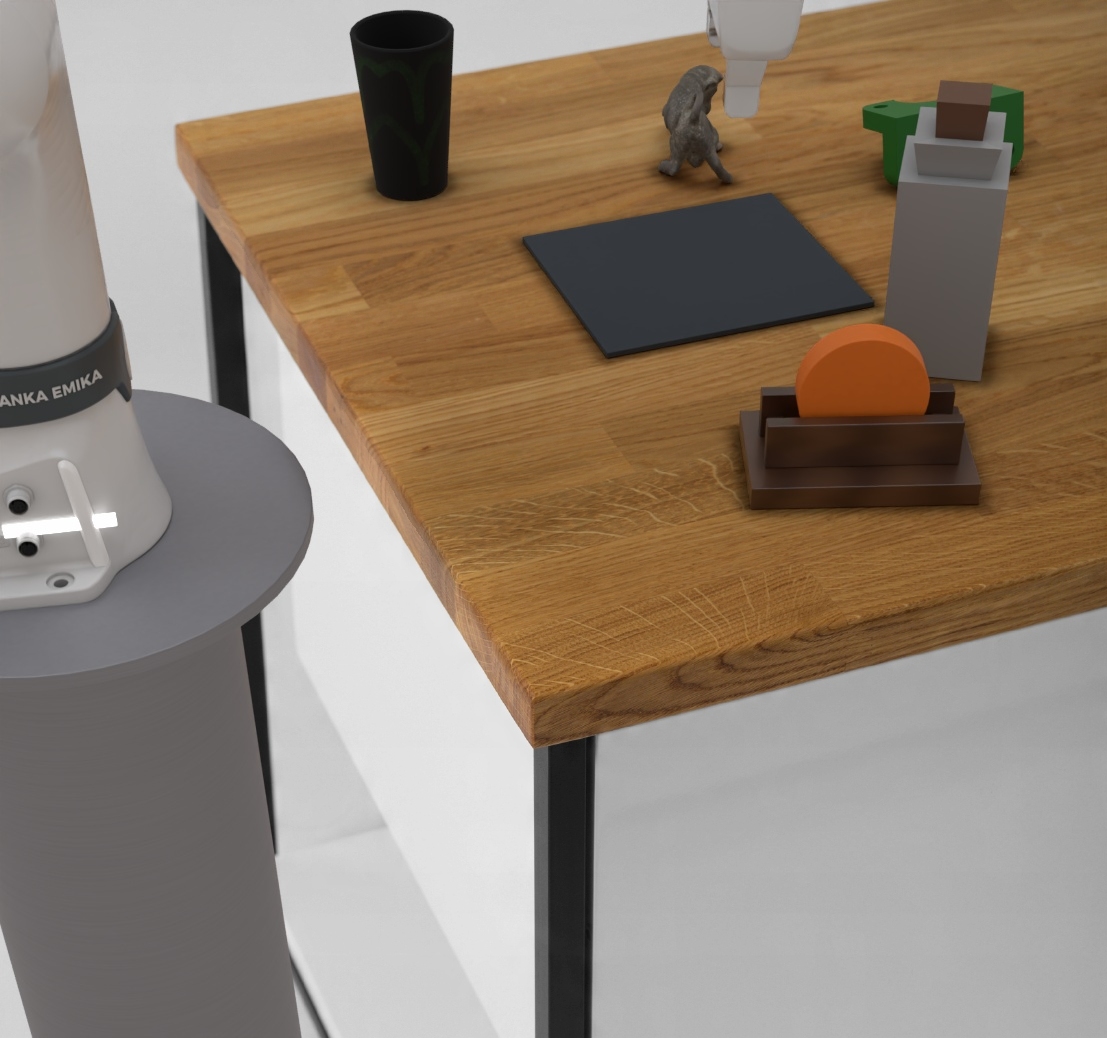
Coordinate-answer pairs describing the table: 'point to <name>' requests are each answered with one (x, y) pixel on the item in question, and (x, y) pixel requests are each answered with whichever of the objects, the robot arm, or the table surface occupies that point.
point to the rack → (856, 456)
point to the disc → (862, 375)
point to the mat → (694, 274)
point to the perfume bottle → (949, 230)
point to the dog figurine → (693, 123)
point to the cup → (406, 99)
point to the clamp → (903, 116)
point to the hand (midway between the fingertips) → (730, 76)
